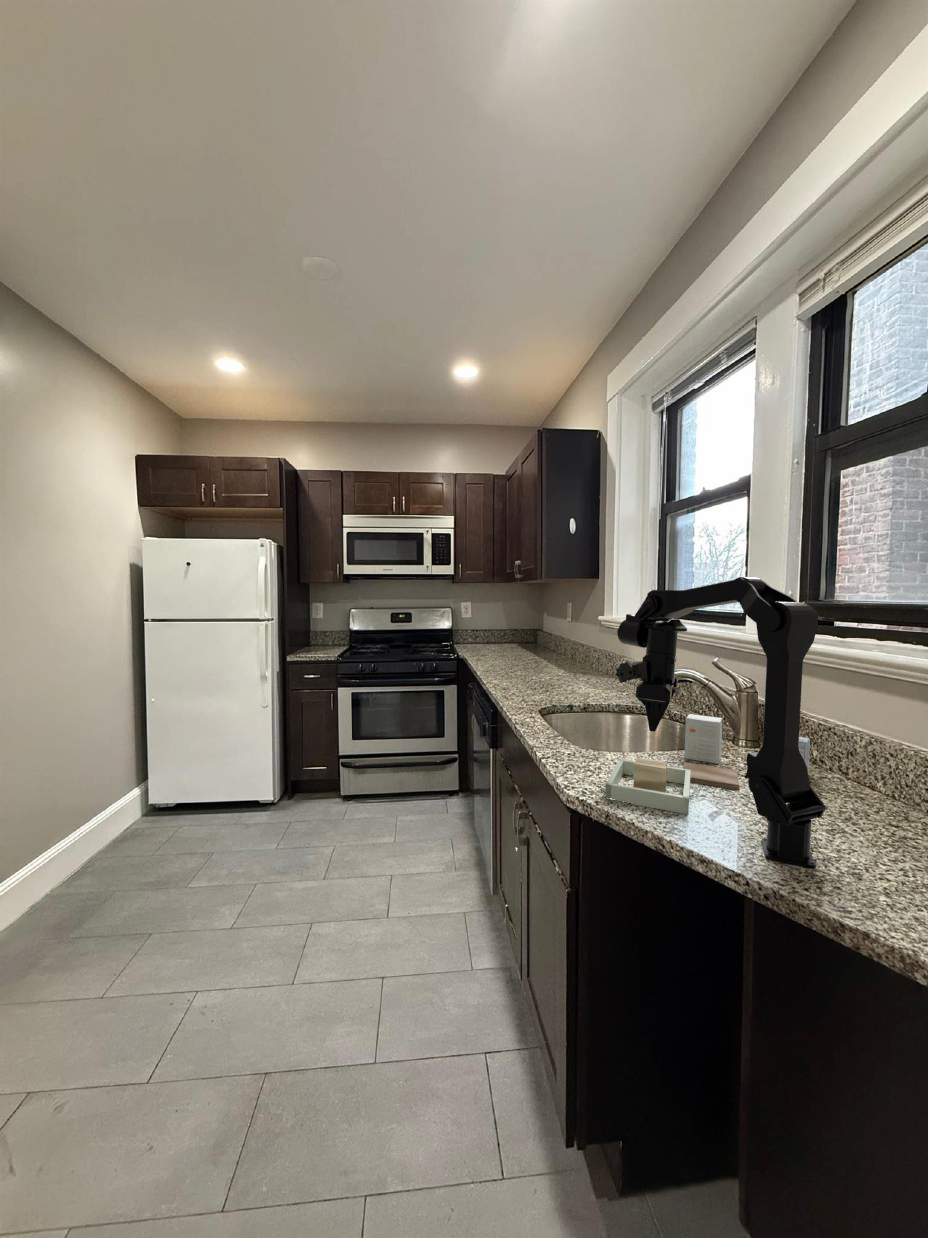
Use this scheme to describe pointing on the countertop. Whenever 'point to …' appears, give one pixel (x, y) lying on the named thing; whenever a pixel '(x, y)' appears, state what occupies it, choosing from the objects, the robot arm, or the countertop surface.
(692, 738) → the small box
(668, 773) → the sage bin
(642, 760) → the pine block
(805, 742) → the medicine box
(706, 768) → the walnut board
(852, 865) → the countertop surface
